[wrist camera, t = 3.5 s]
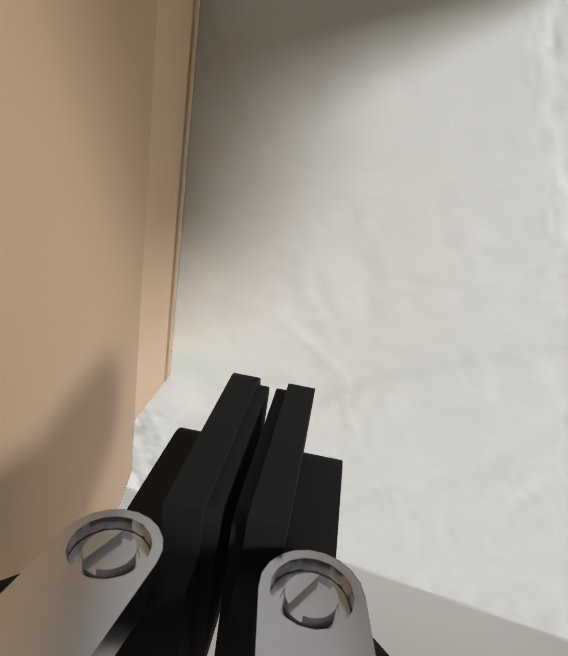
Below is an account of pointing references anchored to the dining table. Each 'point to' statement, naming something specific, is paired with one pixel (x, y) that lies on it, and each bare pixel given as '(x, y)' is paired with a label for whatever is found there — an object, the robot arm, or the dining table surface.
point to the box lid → (69, 259)
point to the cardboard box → (165, 189)
